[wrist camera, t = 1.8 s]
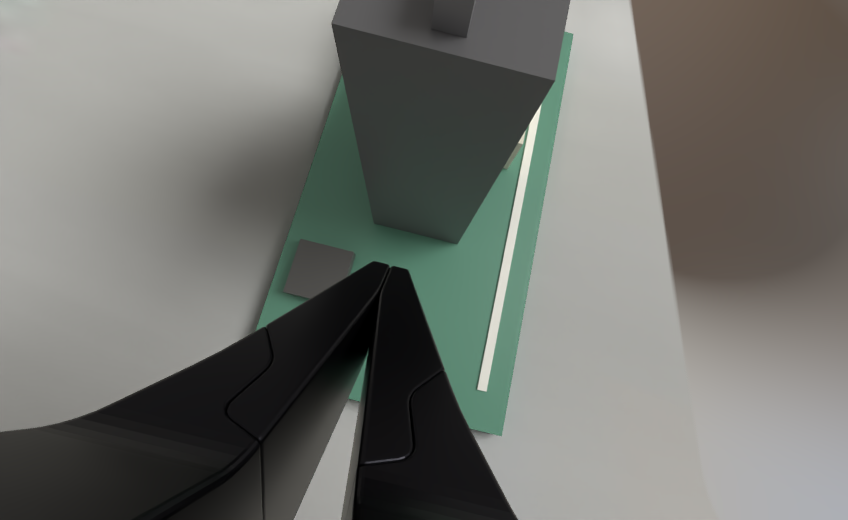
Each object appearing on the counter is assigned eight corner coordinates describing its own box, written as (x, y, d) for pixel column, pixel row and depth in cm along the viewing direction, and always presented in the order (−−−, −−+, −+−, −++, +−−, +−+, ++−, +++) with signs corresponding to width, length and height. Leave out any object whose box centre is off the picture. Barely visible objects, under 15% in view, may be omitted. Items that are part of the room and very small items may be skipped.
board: (497, 432, 21) (539, 470, 14) (247, 371, 20) (183, 383, 14) (568, 43, 26) (618, -46, 20) (373, -7, 26) (366, -112, 20)
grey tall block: (457, 244, 22) (576, 45, 7) (373, 223, 22) (322, -21, 7) (484, 125, 24) (624, -230, 9) (407, 105, 24) (421, -283, 9)
